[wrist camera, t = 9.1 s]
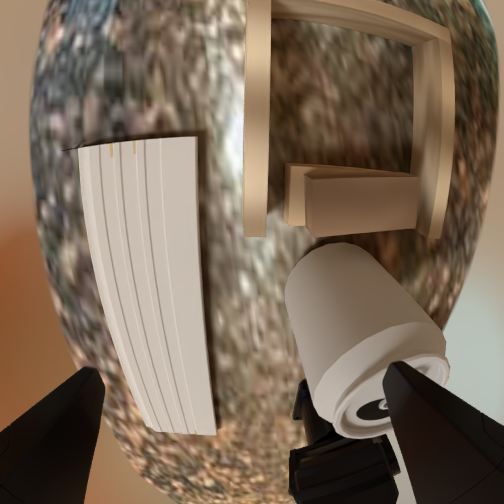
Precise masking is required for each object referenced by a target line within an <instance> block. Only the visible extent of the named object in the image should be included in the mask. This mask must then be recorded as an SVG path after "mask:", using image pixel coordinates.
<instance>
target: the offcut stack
mask: <svg viewBox="0 0 504 504" xmlns="http://www.w3.org/2000/svg"><path fill="white" fill-rule="evenodd" d="M418 193H419V177H417V176H414V175H411V174H407V173H404V172H391V171H383V170H374V169H365V168H355V167H344V166H331V165H317V164H300V163H285V184H284V206H283V217H284V219H285V221H286V223H287V224H288V225H294V226H306V228H307V229H308V230H309V232H310V233H311V235H312V236H313V237H314V238H315V237H325V236H335V235H346V234H357V233H367V232H378V231H389V230H400V229H411V228H416V220H417V208H418Z"/></svg>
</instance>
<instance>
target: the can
mask: <svg viewBox="0 0 504 504" xmlns="http://www.w3.org/2000/svg"><path fill="white" fill-rule="evenodd" d="M285 304H286V307H287V311H288V314H289V318H290V322H291V325H292V329H293V332H294V336H295V339H296V343H297V347H298V350H299V354H300V357H301V361H302V365H303V368H304V372H305V376H306V379H307V383H308V387H309V391H310V394H311V398H312V402H313V405H314V407H315V409H316V411H317V413H318V415H319V416H320V417H322V418H324V419H325V420H327V421H329V422H330V423H332V424H333V426H334V428H335V430H336V432H337V433H338V434H340V435H342V436H344V437H347V438H355V439H364V438H371V437H376V436H379V435H383V434H386V433H389V432H391V431H393V427H392V423H391V420H390V415H389V411H388V407H387V403H386V399H385V394H384V391H383V386H382V381H383V378H384V375H385V373H386V371H387V368H388V366H389V364H390V363H391V362H395V361H400V360H401V361H404V362H406V363H407V364H409V365H410V366H412V367H413V368H415V369H416V370H418V371H419V372H421V373H422V374H424V375H425V376H427V377H428V378H430V379H431V380H433V381H434V382H436V383H437V384H439V385H441V386H442V387H445V385H446V383H447V381H448V378H449V372H450V365H449V363H448V361H447V358H446V357H445V350H446V341H445V338H444V336H443V333H442V331H441V330H440V328H439V327H438V326H437V325H436V324H435V323H434V321H433V320H432V319H431V318H430V317H429V316H428V315H427V314H426V312H425V311H424V310H423V309H422V308H421V307H420V306H419V305H418V304H417V302H416V301H415V300H414V299H413V298H412V297H411V296H410V295H409V294H408V293H407V292H406V291H405V290H404V288H403V287H402V286H401V285H400V284H399V283H398V282H397V281H396V280H395V279H394V278H393V277H392V276H391V275H390V274H389V273H388V272H387V271H386V270H385V269H384V268H383V267H382V266H381V265H380V264H379V263H378V262H377V261H376V260H375V259H374V258H373V257H372V256H371V255H370V254H369V253H368V252H367V251H365V250H364V249H362V248H361V247H359V246H357V245H353V244H349V243H344V242H342V243H332V244H326V245H324V246H322V247H319V248H317V249H315V250H312V251H311V252H310V253H308V254H307V255H306V256H305V257H303V258H302V259H301V260H300V261H298V263H297V264H296V266H295V267H294V269H293V270H292V271H291V273H290V274H289V277H288V280H287V283H286V286H285Z"/></svg>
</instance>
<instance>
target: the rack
mask: <svg viewBox="0 0 504 504" xmlns="http://www.w3.org/2000/svg"><path fill="white" fill-rule="evenodd" d="M271 18H279V19H290V20H299V21H307V22H314V23H320V24H326V25H332V26H337V27H342V28H347V29H351V30H355V31H360V32H364V33H368V34H372V35H375V36H379V37H382V38H386V39H389V40H392V41H395V42H399V43H402V44H405V45H408V46H410V47H412V58H413V82H414V113H413V138H412V153H411V165H410V174H411V175H414V176H417V177H419V193H418V208H417V220H416V228H412V229H414V230H415V231H417V232H418V233H420V234H421V235H423V236H424V237H426V238H427V239H440V237H441V233H442V228H443V223H444V217H445V212H446V206H447V200H448V193H449V186H450V179H451V170H452V160H453V147H454V129H455V84H454V67H453V55H452V46H451V38H450V31H449V29H447V28H445V27H443V26H441V25H439V24H437V23H435V22H433V21H430V20H428V19H426V18H424V17H421V16H419V15H416V14H414V13H411V12H409V11H406V10H404V9H401V8H398V7H395V6H393V5H390V4H387V3H384V2H381V1H377V0H247V3H246V38H245V79H244V132H243V210H242V220H243V231H244V237H266V219H267V189H268V154H269V113H270V56H271Z"/></svg>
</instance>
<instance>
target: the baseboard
mask: <svg viewBox="0 0 504 504" xmlns="http://www.w3.org/2000/svg"><path fill="white" fill-rule="evenodd" d="M73 149H77V148H73ZM67 150H71V149H67ZM62 151H65V150H62ZM78 152H79V169H80V181H81V191H82V200H83V209H84V216H85V223H86V229H87V236H88V241H89V247H90V252H91V258H92V263H93V267H94V272H95V276H96V281H97V285H98V289H99V293H100V297H101V301H102V305H103V309H104V312H105V316H106V319H107V323H108V326H109V330H110V333H111V336H112V339H113V342H114V346H115V349H116V352H117V354H118V357H119V360H120V363H121V366H122V369H123V371H124V374H125V377H126V379H127V382H128V384H129V387H130V390H131V392H132V394H133V397H134V399H135V402H136V404H137V406H138V409H139V411H140V413H141V415H142V418H143V420H144V422H145V424H146V426H147V427H151V428H153V429H154V430H155V431H157V432H170V433H184V434H198V435H217V425H216V418H215V410H214V402H213V394H212V385H211V376H210V367H209V357H208V347H207V336H206V324H205V312H204V299H203V284H202V268H201V250H200V227H199V197H198V136H197V137H195V136H180V137H164V138H151V139H140V140H139V139H134V140H133V139H132V140H123V141H115V142H107V143H105V144H98V145H91V146H85V147H79V148H78Z"/></svg>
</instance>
